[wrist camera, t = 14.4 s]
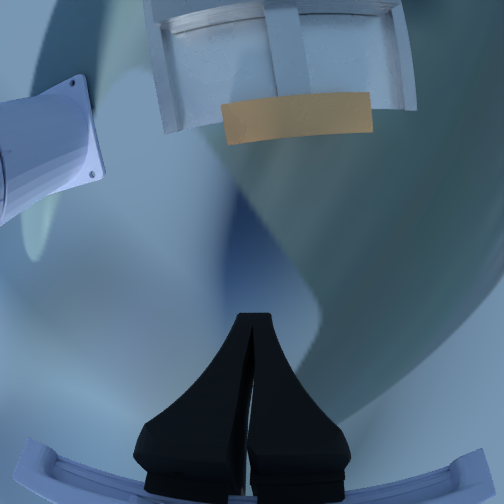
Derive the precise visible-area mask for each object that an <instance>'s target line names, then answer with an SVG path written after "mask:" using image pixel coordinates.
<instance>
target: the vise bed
mask: <svg viewBox="0 0 504 504" xmlns="http://www.w3.org/2000/svg"><path fill="white" fill-rule="evenodd" d="M400 1H401V0H400ZM143 7H144V15H145V23H146V30H147V37H148V44H149V50H150V57H151V63H152V69H153V75H154V81H155V86H156V92H157V97H158V103H159V107H160V113H161V118H162V123H163V128H164V132H165V134H169V133H173V132H178V131H180V130H183V129H188V128H193V127H198V126H203V125H208V124H213V123H219V122H223V117H222V111H221V105H222V104H228V103H234V102H240V101H247V100H254V99H262V98H270V97H278V96H277V89H276V82H275V76H274V69H273V63H272V57H271V51H270V45H269V39H268V33H267V28H266V22H265V17H255V18H248V19H241V20H235V21H229V22H223V23H218V24H213V25H208V26H203V27H199V28H194V29H190V30H186V31H182V32H178V33H175V34H171V33H169V32H167V31H166V30H164V29H162V28H161V27H159V26H157V25H155V24H154V22H153V14H152V7H151V0H143ZM299 20H300V25H301V30H302V36H303V42H304V48H305V54H306V60H307V67H308V73H309V80H310V87H311V94H315V93H336V92H370V100H371V109H400V110H411V111H417V102H416V90H415V80H414V71H413V63H412V56H411V49H410V43H409V37H408V31H407V26H406V21H405V16H404V12H403V7H402V3H401V4H399V5H398V6H396V7H394V8H393V9H391V10H389V11H388V12H386V13H384V14H383V15H381V16H379V15H367V14H350V13H303V14H299Z"/></svg>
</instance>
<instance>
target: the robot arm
mask: <svg viewBox="0 0 504 504" xmlns="http://www.w3.org/2000/svg"><path fill="white" fill-rule="evenodd" d="M74 80H75V85H74V86H73V81H74ZM92 171H93V172H94V173H95V177H94V176H93V175H92ZM105 174H106V171H105V167H104V164H103V159H102V155H101V151H100V147H99V143H98V139H97V134H96V129H95V125H94V120H93V115H92V110H91V105H90V99H89V94H88V88H87V82H86V77H85V75H83V74H77V75H75V76H73V77H71V78H69V79H67V80H65V81H63V82H61V83H59V84H57V85H55V86H53V87H52V88H50V89H48V90H46V91H44V92H43V93H41V94H39V95H37V96H35V97H29V98H23V99H17V100H12V101H7V102H2V103H0V226H1V225H3V224H4V223H6V222H7V221H8V220H10V219H11V218H13V217H14V216H16V215H17V214H19V213H20V212H22V211H23V210H25V209H26V208H28V207H29V206H31V205H32V204H34V203H35V202H37V201H39V200H40V199H42V198H43V197H45V196H47V195H50V194H53V193H56V192H59V191H62V190H65V189H69V188H72V187H75V186H78V185H82V184H85V183H89V182H93V181H96V180H100V179H102V178H103V177H104V176H105ZM253 381H254V386H253ZM252 387H253V396H252V406H251V415H250V424H249V431H248V415H249V407H250V400H251V393H252ZM247 434H248V439H247ZM247 450H248V456H249V461H250V466H251V473H250V485H251V488H252V492H253V496H245V490H246V489H245V487H246V486H245V485H246V456H247ZM133 457H134V459H135V460H136V461H137V463H138V464H139V465H140V466H141V467H142V468H143V469H144V470H146V471H147V476H146V480H145V482H141V481H136V480H132V479H129V478H125V477H121V476H117V475H114V474H110V473H107V472H104V471H101V470H98V469H95V468H92V467H89V466H86V465H83V464H80V463H77V462H75V461H72V460H70V459H67V458H65V457H62V456H60V455H58V454H57V453H56V452H55V451H54V450H53V449H51V448H50V447H48V446H47V445H45V444H43V443H40V442H38V441H36V440H34V439H32V438H28V440H27V442H26V444H25V447H24V449H23V451H22V453H21V456H20V458H19V461H18V463H17V465H16V468H15V470H14V473H13V475H12V479H13V480H15V481H16V482H18V483H20V484H21V485H23V486H24V487H26V488H28V489H29V490H31V491H33V492H34V493H36V494H37V495H39V496H41V497H43V498H44V499H46V500H48V501H50V502H52V503H54V504H161V503H162V504H481V503H483V502H485V501H487V500H489V499H490V498H492V497H494V496H495V495H496V491H495V488H494V484H493V480H492V477H491V473H490V470H489V466H488V464H487V460H486V457H485V454H484V451H483V449H482V448H480V449H478V450H476V451H473V452H471V453H468V454H466V455H463V456H461V457H459V458H457V459H456V460H454V461H453V462H452V463H451V464H450V465H449V466H447V467H444V468H441V469H438V470H435V471H432V472H429V473H425V474H422V475H419V476H415V477H411V478H408V479H404V480H400V481H396V482H392V483H387V484H383V485H378V486H373V487H367V488H362V489H356V490H349V491H344V480H345V472H344V469H345V468H346V466H347V465H348V463H349V462H350V460H351V453H350V449H349V446H348V443H347V441H346V439H345V437H344V434H343V432H342V430H341V429H340V428H339V427H338V426H337V425H335V424H334V423H333V422H332V421H331V420H330V419H329V418H328V417H327V416H326V414H325V413H324V412H323V411H322V410H321V409H320V408H319V407H318V406H317V404H316V403H315V402H314V401H313V399H312V398H311V397H310V396H309V394H308V393H307V392H306V390H305V389H304V388H303V386H302V385H301V383H300V382H299V380H298V379H297V377H296V375H295V374H294V372H293V371H292V369H291V367H290V365H289V363H288V361H287V359H286V358H285V355H284V353H283V351H282V349H281V346H280V344H279V342H278V339H277V336H276V333H275V330H274V327H273V323H272V318H271V314H270V313H239V314H238V315H237V317H236V320H235V322H234V324H233V326H232V329H231V331H230V332H229V334H228V336H227V338H226V340H225V342H224V343H223V345H222V347H221V348H220V350H219V351H218V353H217V354H216V356H215V357H214V359H213V360H212V362H211V363H210V364H209V366H208V367H207V368H206V370H205V371H204V372H203V373H202V375H201V376H200V377H199V378H198V379H197V381H195V383H194V384H193V385H192V386H191V387H190V388H189V389H188V390H187V391H186V392H185V393H184V394H183V395H182V396H181V397H180V398H178V399H177V400H176V401H175V402H174V403H173V404H171V405H170V406H169V407H168V408H167V409H165V410H164V411H163V412H161V413H160V414H159V415H157V416H156V417H154V418H153V419H151V420H150V421H149V422H147V423H145V425H144V426H143V428H142V430H141V433H140V435H139V437H138V439H137V443H136V446H135V450H134V453H133ZM157 502H158V503H157Z"/></svg>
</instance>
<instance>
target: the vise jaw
mask: <svg viewBox="0 0 504 504" xmlns="http://www.w3.org/2000/svg"><path fill="white" fill-rule="evenodd" d="M399 4H401V1H400V0H151V7H152V14H153V22H154V24H155V25H157V26H159V27H161V28H162V29H164V30H166V31H167V32H169V33H171V34H175V33H178V32H182V31H186V30H190V29H194V28H199V27H203V26H208V25H213V24H218V23H223V22H229V21H235V20H241V19H248V18H255V17H265V22H266V28H267V33H268V39H269V45H270V51H271V57H272V63H273V69H274V76H275V82H276V89H277V96H278V97H270V98H262V99H254V100H247V101H240V102H234V103H228V104H222V105H221V111H222V117H223V123H224V129H225V135H226V140H227V145H233V144H240V143H247V142H254V141H262V140H270V139H279V138H289V137H299V136H311V135H324V134H340V133H363V132H373V123H372V111H371V100H370V92H336V93H315V94H311V87H310V80H309V73H308V67H307V60H306V54H305V48H304V42H303V36H302V30H301V25H300V20H299V14H303V13H350V14H367V15H379V16H381V15H383V14H384V13H386V12H388V11H389V10H391V9H393V8H394V7H396V6H398V5H399Z"/></svg>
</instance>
